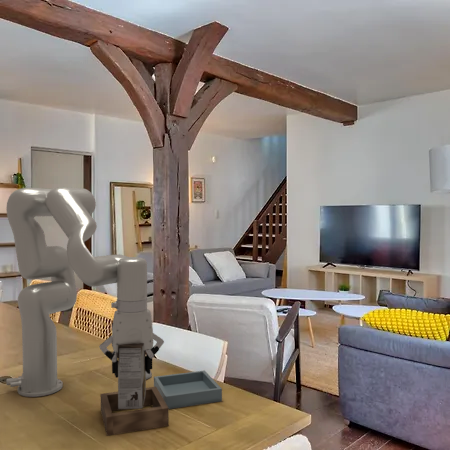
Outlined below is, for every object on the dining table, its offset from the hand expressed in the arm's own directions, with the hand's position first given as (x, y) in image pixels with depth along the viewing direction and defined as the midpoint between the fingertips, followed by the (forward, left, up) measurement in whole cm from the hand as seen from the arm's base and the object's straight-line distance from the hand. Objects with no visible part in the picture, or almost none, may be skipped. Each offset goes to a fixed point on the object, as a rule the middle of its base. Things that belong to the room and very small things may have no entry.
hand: (132, 373), depth 122 cm
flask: (+7, +29, -12) cm, 32 cm away
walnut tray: (0, 0, -12) cm, 12 cm away
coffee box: (0, 0, -8) cm, 8 cm away
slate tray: (+17, +10, -12) cm, 23 cm away
